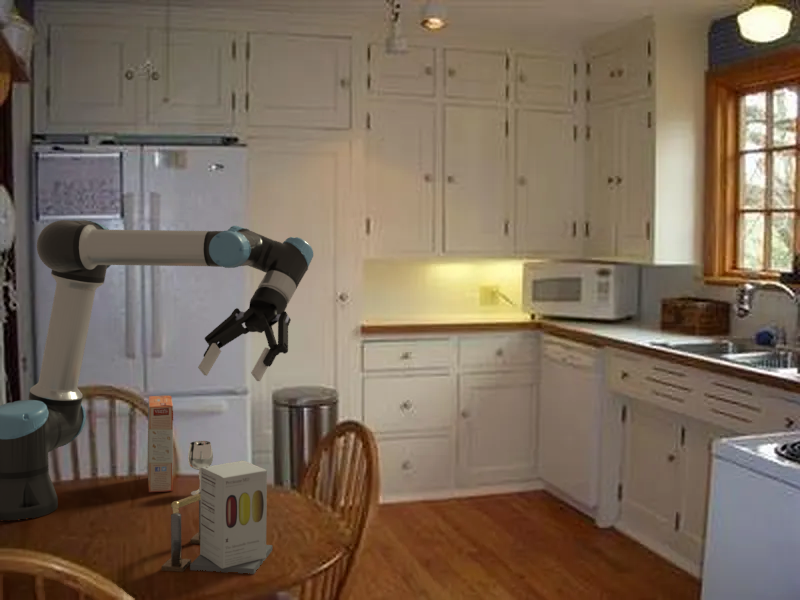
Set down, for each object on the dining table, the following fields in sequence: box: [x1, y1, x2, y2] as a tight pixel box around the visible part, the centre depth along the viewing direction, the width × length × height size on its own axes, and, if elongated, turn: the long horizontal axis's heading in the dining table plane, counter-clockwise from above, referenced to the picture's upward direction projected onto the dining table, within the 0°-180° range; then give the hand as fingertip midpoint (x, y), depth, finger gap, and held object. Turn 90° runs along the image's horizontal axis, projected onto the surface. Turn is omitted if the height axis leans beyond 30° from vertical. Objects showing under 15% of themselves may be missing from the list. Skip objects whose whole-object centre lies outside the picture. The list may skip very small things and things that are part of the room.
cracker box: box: [147, 395, 174, 493], centre depth 207 cm, size 14×6×21 cm, turn 17°
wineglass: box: [187, 440, 214, 496], centre depth 201 cm, size 6×6×12 cm
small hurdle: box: [161, 491, 201, 573], centre depth 163 cm, size 6×18×10 cm, turn 173°
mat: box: [189, 544, 273, 575], centre depth 160 cm, size 12×12×1 cm
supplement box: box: [199, 460, 268, 569], centre depth 158 cm, size 10×9×17 cm
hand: (228, 374), depth 173 cm, fingers open, 13 cm apart
